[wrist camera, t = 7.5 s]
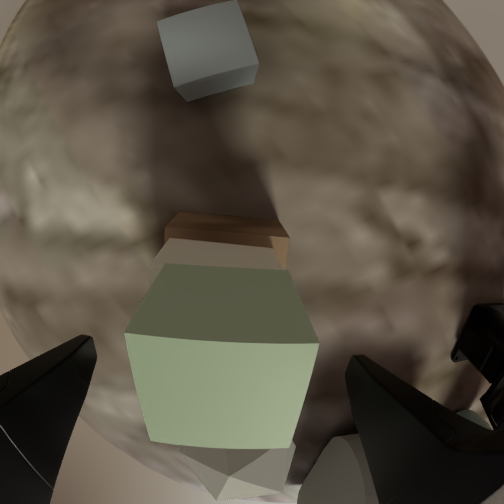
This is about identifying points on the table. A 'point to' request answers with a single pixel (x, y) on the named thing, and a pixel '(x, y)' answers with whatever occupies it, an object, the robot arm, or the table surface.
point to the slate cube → (208, 50)
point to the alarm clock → (339, 475)
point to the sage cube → (221, 357)
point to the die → (240, 470)
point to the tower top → (212, 255)
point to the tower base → (230, 231)
